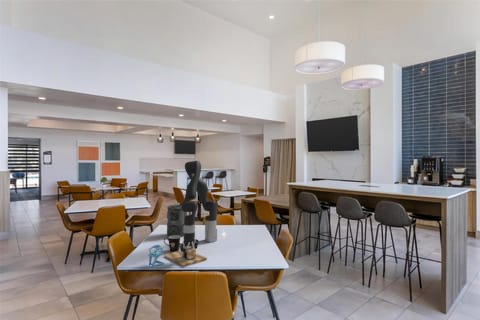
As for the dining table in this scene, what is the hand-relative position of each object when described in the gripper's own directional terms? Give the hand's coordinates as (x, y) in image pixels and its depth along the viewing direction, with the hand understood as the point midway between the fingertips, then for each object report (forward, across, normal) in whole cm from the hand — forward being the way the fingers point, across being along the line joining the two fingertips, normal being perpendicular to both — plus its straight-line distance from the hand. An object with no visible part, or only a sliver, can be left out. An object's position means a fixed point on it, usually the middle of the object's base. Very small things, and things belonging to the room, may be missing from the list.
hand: (188, 256), depth 179 cm
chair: (+2, +20, -7) cm, 22 cm away
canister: (+2, -24, -56) cm, 61 cm away
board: (+2, 0, -4) cm, 4 cm away
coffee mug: (+2, -2, -24) cm, 24 cm away
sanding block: (+1, 0, 0) cm, 1 cm away
